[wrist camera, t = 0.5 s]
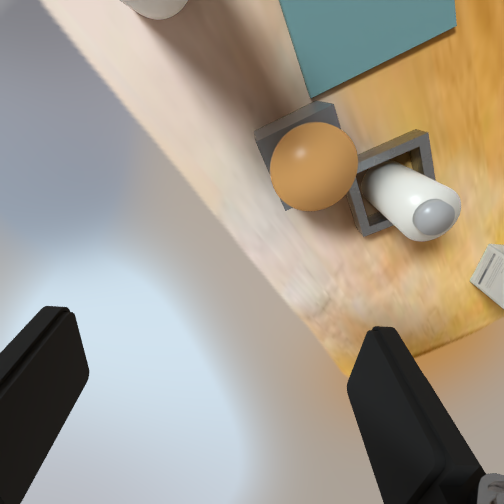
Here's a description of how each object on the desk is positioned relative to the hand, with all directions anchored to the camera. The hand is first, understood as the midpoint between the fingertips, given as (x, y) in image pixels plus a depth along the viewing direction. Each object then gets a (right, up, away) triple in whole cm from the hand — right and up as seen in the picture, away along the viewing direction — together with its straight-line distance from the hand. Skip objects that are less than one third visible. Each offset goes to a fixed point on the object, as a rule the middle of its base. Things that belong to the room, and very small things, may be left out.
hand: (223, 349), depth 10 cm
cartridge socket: (+16, +11, +25) cm, 32 cm away
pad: (+11, +26, +16) cm, 33 cm away
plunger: (+6, +12, +18) cm, 23 cm away
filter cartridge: (+16, +11, +25) cm, 32 cm away
